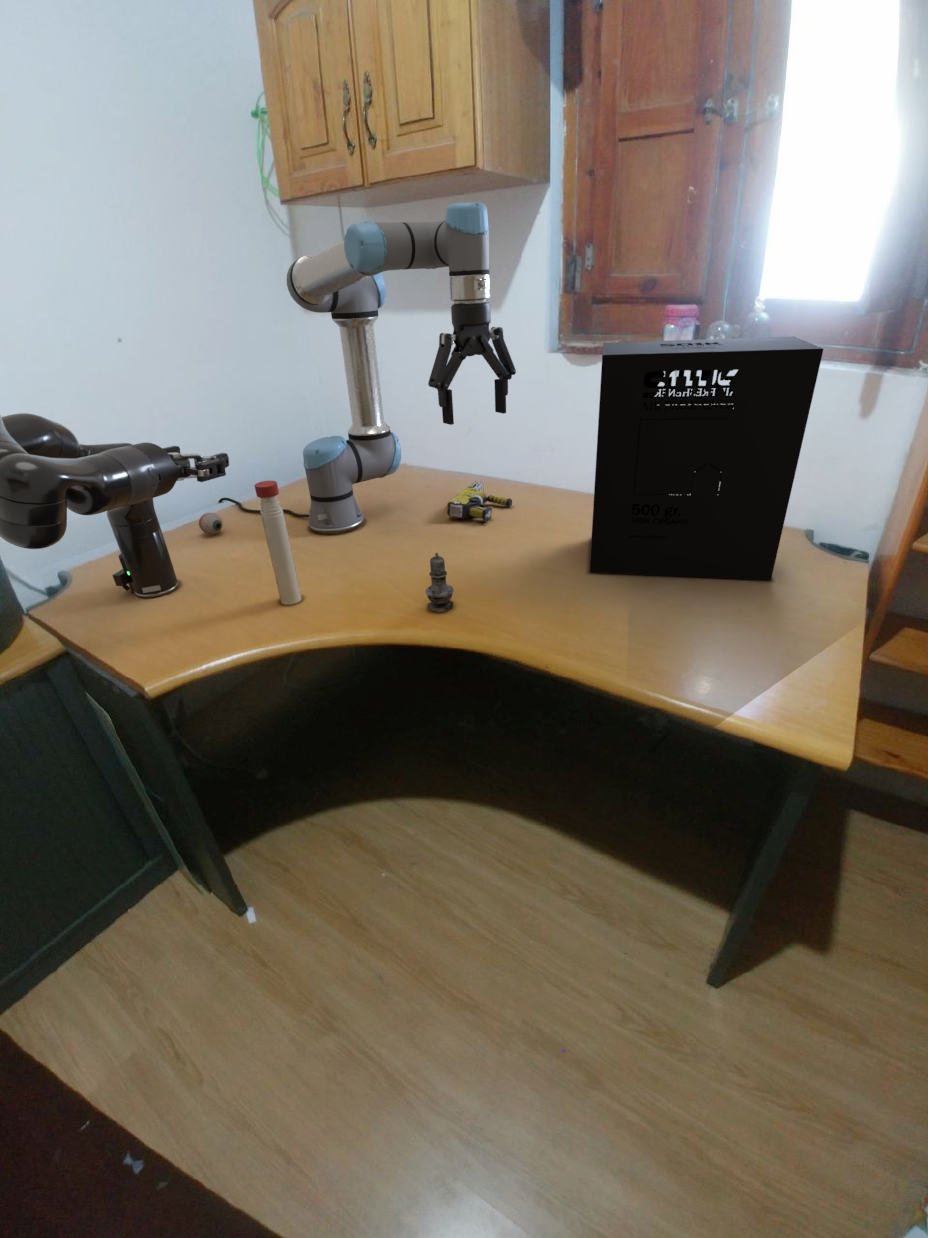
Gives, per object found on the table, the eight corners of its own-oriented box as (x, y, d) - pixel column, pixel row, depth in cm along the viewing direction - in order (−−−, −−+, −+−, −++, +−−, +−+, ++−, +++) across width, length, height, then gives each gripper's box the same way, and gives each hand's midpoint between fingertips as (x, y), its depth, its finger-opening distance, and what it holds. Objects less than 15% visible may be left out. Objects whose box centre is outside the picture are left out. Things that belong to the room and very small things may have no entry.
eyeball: (212, 539, 164) (206, 518, 161) (197, 535, 167) (191, 515, 164) (230, 531, 169) (224, 511, 166) (215, 528, 172) (210, 508, 169)
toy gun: (520, 486, 181) (473, 479, 185) (498, 510, 161) (445, 501, 165) (519, 501, 183) (472, 494, 187) (496, 526, 163) (445, 518, 167)
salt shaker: (451, 613, 122) (447, 559, 116) (423, 611, 123) (418, 558, 117) (457, 599, 127) (454, 547, 121) (430, 598, 128) (425, 546, 122)
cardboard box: (751, 542, 144) (793, 336, 122) (770, 580, 127) (823, 348, 105) (591, 537, 152) (603, 342, 130) (589, 572, 135) (602, 354, 112)
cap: (264, 490, 122) (262, 480, 121) (283, 491, 121) (280, 480, 119) (252, 497, 118) (250, 486, 117) (271, 498, 117) (269, 487, 116)
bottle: (287, 594, 134) (262, 481, 121) (305, 596, 132) (281, 482, 120) (277, 604, 130) (249, 488, 117) (295, 605, 129) (269, 489, 116)
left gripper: (91, 493, 86) (165, 472, 100) (181, 508, 84) (243, 485, 98) (82, 439, 83) (160, 426, 97) (175, 453, 81) (241, 437, 95)
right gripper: (426, 307, 105) (435, 431, 116) (533, 297, 117) (532, 410, 128) (403, 306, 110) (414, 425, 121) (508, 297, 123) (509, 405, 133)
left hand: (202, 455), depth 98 cm, fingers open, 8 cm apart
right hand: (475, 417), depth 124 cm, fingers open, 13 cm apart
